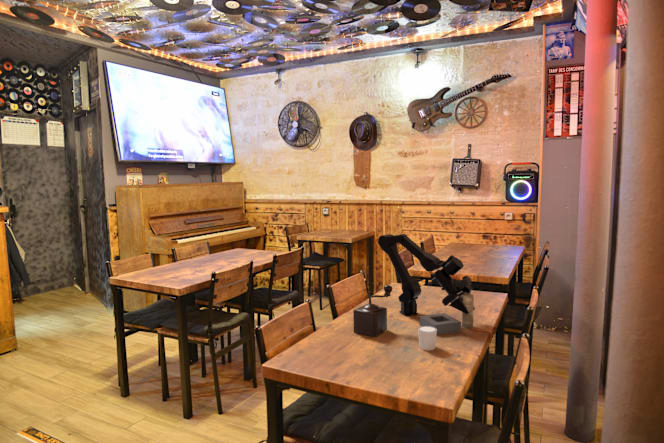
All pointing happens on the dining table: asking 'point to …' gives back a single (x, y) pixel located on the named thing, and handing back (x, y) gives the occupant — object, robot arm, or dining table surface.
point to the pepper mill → (371, 316)
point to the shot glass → (427, 337)
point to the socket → (441, 323)
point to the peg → (468, 318)
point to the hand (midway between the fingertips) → (471, 311)
